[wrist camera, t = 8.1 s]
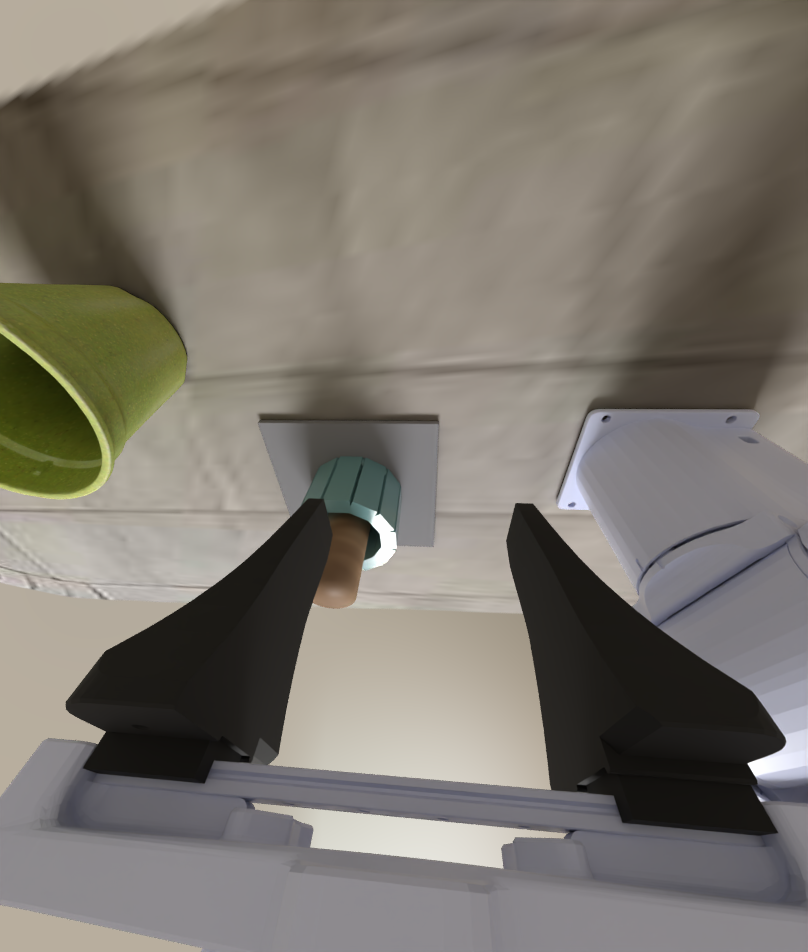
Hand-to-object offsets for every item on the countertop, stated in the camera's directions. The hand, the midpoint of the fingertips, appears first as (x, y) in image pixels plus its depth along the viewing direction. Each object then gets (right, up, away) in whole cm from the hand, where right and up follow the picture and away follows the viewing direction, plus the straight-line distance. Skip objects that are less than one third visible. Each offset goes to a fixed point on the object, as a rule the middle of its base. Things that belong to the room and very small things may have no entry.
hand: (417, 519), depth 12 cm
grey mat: (-4, +1, +12) cm, 13 cm away
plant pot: (-16, +10, +7) cm, 20 cm away
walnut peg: (-4, 0, +12) cm, 12 cm away
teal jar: (-4, 0, +12) cm, 13 cm away
